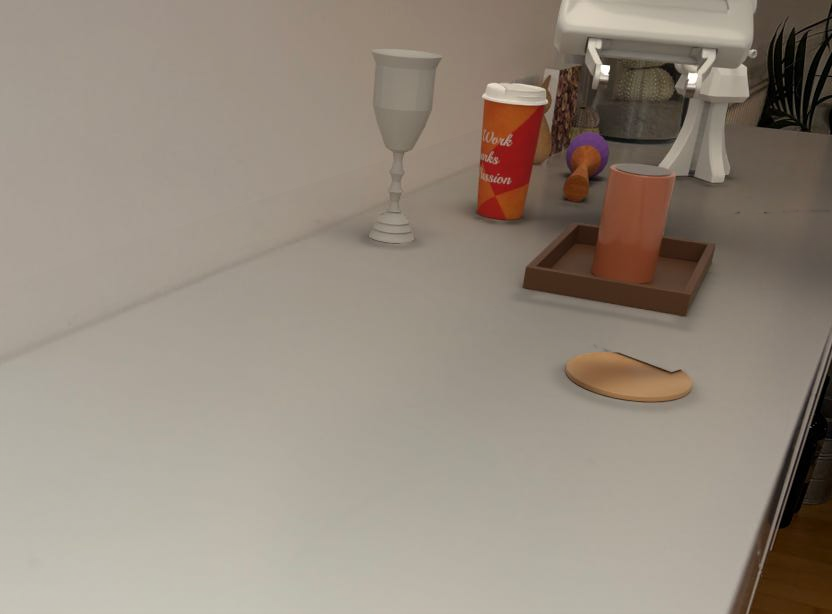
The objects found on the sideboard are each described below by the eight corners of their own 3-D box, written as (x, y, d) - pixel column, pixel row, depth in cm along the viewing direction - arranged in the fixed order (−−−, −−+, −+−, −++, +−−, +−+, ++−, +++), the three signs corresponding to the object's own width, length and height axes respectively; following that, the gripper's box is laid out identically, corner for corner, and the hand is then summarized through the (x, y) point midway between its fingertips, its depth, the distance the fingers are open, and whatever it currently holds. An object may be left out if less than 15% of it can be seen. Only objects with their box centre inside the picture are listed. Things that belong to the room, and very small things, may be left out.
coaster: (715, 385, 87) (716, 380, 87) (641, 411, 81) (642, 406, 81) (615, 348, 93) (616, 344, 93) (540, 370, 87) (540, 365, 87)
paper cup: (457, 206, 134) (472, 81, 126) (512, 205, 137) (530, 82, 129) (485, 222, 128) (502, 91, 120) (542, 221, 131) (562, 92, 123)
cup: (666, 278, 111) (690, 173, 105) (628, 287, 107) (651, 179, 101) (616, 262, 115) (636, 160, 109) (578, 270, 111) (597, 165, 105)
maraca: (552, 166, 139) (567, 129, 155) (553, 213, 143) (568, 173, 158) (599, 162, 138) (610, 125, 153) (599, 210, 141) (610, 170, 156)
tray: (684, 322, 101) (690, 294, 99) (521, 293, 105) (525, 266, 103) (710, 268, 118) (716, 243, 116) (569, 245, 122) (573, 221, 120)
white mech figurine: (689, 185, 155) (721, 42, 145) (636, 165, 165) (663, 31, 155) (755, 183, 159) (791, 45, 149) (700, 164, 169) (730, 33, 159)
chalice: (352, 239, 118) (364, 53, 108) (366, 226, 123) (379, 47, 113) (418, 248, 116) (436, 60, 106) (429, 234, 122) (447, 54, 112)
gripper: (749, 6, 117) (738, 119, 114) (559, -10, 119) (545, 101, 116) (768, -41, 111) (757, 78, 108) (567, -57, 112) (552, 59, 110)
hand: (645, 90), depth 112 cm, fingers open, 8 cm apart
